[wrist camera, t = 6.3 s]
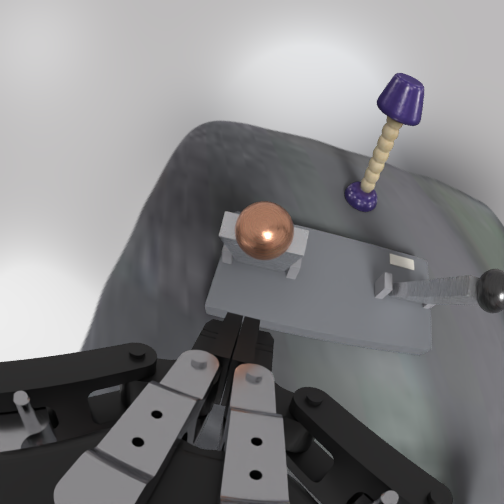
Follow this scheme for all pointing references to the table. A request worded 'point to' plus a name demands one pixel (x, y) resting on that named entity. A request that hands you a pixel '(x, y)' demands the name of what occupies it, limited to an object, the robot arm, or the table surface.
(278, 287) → the switch panel
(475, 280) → the black knob lever
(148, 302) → the table surface
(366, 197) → the toy lamp
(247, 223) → the copper knob lever
